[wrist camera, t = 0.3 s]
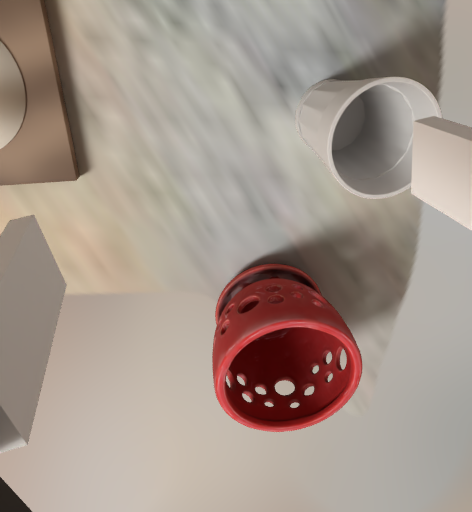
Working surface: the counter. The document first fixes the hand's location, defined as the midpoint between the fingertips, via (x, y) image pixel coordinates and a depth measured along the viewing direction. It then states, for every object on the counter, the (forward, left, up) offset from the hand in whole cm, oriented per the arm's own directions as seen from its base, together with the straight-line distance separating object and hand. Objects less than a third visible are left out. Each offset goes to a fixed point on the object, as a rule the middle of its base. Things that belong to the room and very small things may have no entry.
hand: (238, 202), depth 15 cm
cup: (+1, +12, -26) cm, 28 cm away
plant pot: (+21, +6, -26) cm, 34 cm away
